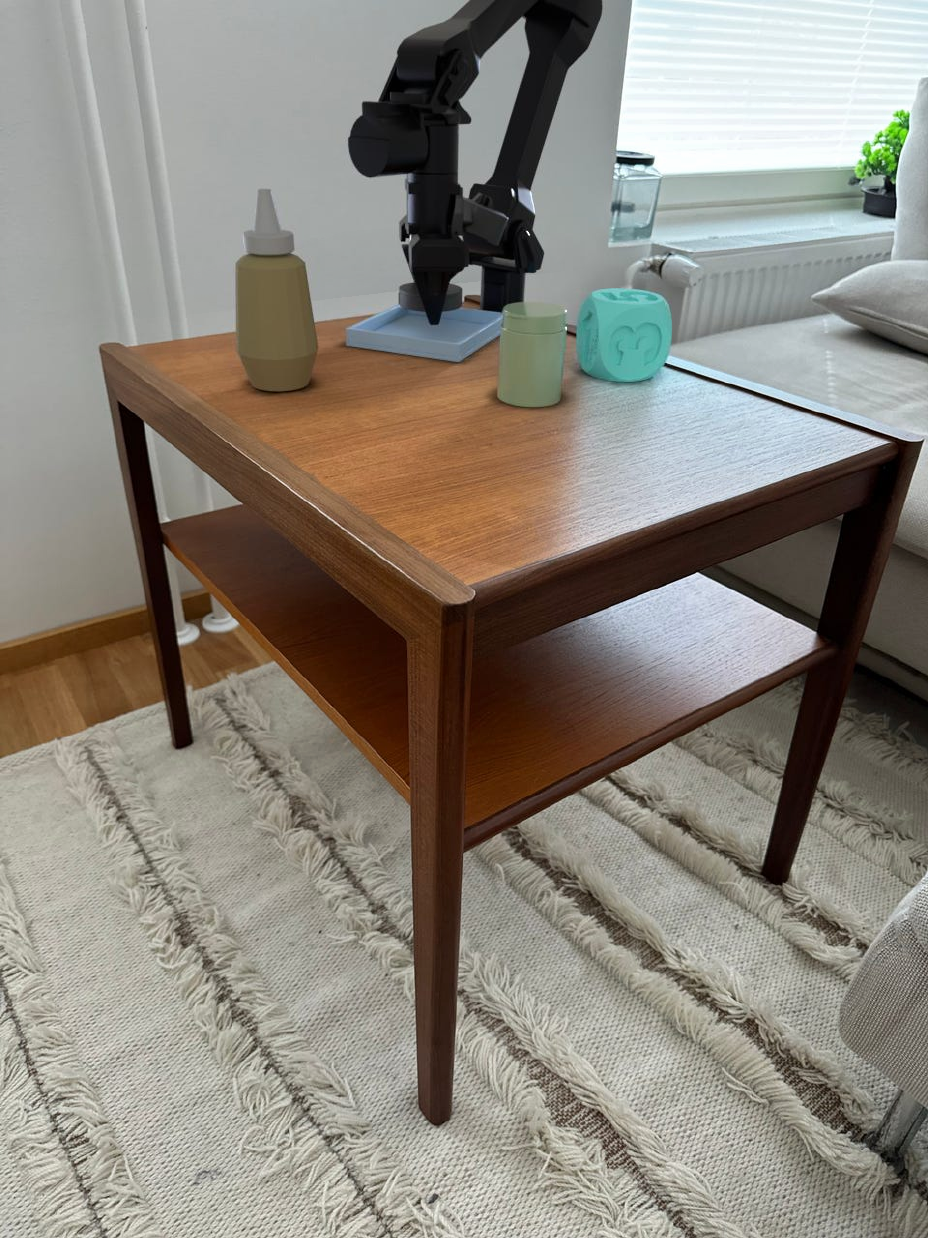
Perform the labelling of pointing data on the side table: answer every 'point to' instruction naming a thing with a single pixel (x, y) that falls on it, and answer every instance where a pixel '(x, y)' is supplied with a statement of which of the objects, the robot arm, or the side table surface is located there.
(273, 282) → the squeeze bottle
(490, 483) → the side table surface
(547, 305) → the jar
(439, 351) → the tray
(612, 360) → the decorative dice
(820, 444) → the side table surface
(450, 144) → the robot arm
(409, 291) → the lid
